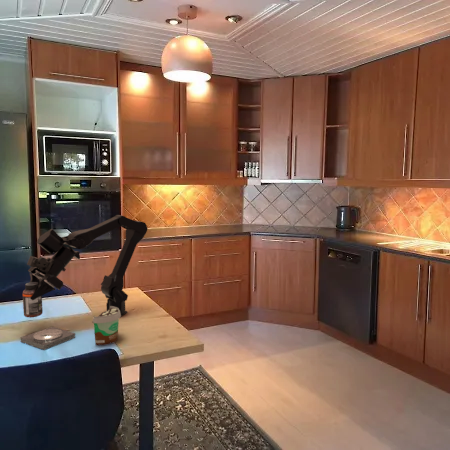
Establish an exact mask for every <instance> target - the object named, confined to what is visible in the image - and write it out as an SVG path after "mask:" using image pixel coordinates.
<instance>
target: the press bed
mask: <svg viewBox="0 0 450 450" xmlns="http://www.w3.org/2000/svg"><path fill="white" fill-rule="evenodd" d="M75 338H76V333H74V332H72V331H68V330H64V329H63V328H62V329H61V328H58V327H55V326H50V327H47V328H44V329H41V330H38V331H35V332H33V333H29V334H27V335H23V336H21V337H20V342H21V343H22V344H25V343H26V345H27V346H32V347H34V348H37V349H39V348H40V350H42V349H43V351H45V350H48V349H50V348H53V347H55V346H58V345H60V344H63V343H65V342H67V341H70V340H73V339H75Z"/></svg>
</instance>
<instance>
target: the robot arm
mask: <svg viewBox="0 0 450 450" xmlns="http://www.w3.org/2000/svg"><path fill="white" fill-rule="evenodd" d="M120 227H121V228H124V229H125V241H124V243H123V246H122V248H121V250H120V253H119V255H118V257H117V260H116V262H115V265H114V267H113V269H112V271H111V273H110V274H109V275H104V276H103V279H102V280H103V281H102V282H101V283H100V286H101V287H100V290H101V293H102V294H103V295H104V296H105V298H106V299H107V300H106V311H107V310H109V309H110V306H114V307H117V308H118V309H119V310H120V313H121V317H122V316H124V315H125V314H128V311H127V310H126V301H128V297H129V294H127V293H126V292H125V291H124V289H123V288H124V286H125V285H124V284H125V282H124V281H125V280H124V276H125V274H126V272H127V269H128V266H129V264H130V262H131V259H132V256H133V255H134V253H135V250H136V248H137V245H138V244H139V243H140V242H141V241H142V240H143V239H144V237H145V236H146V234H147V233H148V230H149V229H148V228H149V227H148V226H147V224H146V222H145V221H140V220H134V219H131V218H128V217H126V216H125V215H120V214H116V215H115V216H113V217H111V218H109V219H107V220H105V221H102V222H100V223H98V224H96V225H94V226H91V227H90V228H86V229H85V228H83V229H79V230H76V231H72V232H70V233H68V234H67V235H65V236H60V235H59V234H58V233H57V231H55V230H54V229H52V228H51V229H49V230H48V231H46V232H44V233H43V234H41V235H40V236H39V238H38V239H37V241H36V244H37V245H38V246H40V247H41V248H42V249H44V250H45V251H46V252H47V253H48V254H53V253H54V254H53V256H52V257H51V258H50V257H47V258H46V257H42V256H39V257H35V256H31V255H30V256H29V259H28V260H27V263H26V265H27V266H29V267H30V268H29V269H28V270H27V271H28V273H29V277H30V281H29V282H37V283H38V287H37V289H36V290H35V292H34V293H33V295H32V296H31V298H30V299H31V300H34V299H36V298H38V297H40V296H42V297H43V296H44V295H46V294H48V293H51V292H52V291H56V290H59V291H61V289H62V288H64V282H63V280H61V279H60V278H58V276H60V274H61V273H62V272H65V271H66V267H67V266H68V264H69V263H70V262H71V261H72V260H73V258H74V259H77V260H80V259H81V254H80V251H78V250H83V249H85V248H87V246H89V245H91V244H92V243H93V242H94V240H96V239H97V238H99V237H101V236H103V235H105V234H108V233H110V232H111V231H114V230H116V229H118V228H120ZM66 245H67V246H66ZM73 248H75V249H77V250H74V249H73Z"/></svg>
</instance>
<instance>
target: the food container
mask: <svg viewBox="0 0 450 450" xmlns="http://www.w3.org/2000/svg"><path fill="white" fill-rule="evenodd" d="M121 317H122V316H121V313H120V310H119V309H118V308H117V307H114V306H110V309H109V310H107V309H106V310H104V311H103V312H101V313H100V314H99V315H98V316H95V315H94V316H93V318H92V323H93V327H94V328H93V330H94V331H93V332H94V344H95V346H105V345H111V344H114V343H115V342H117V341H118V338H119V337H118V335H119V322H120V321H119V320H120V319H121Z"/></svg>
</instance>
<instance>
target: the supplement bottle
mask: <svg viewBox="0 0 450 450" xmlns="http://www.w3.org/2000/svg"><path fill="white" fill-rule="evenodd" d="M24 286H25V287H24V288H25V289H24V290H23V291H22V307H23V309H22V310H23V316H24V317H25V318H37V317H39V316H41V315H43V295H42V296H40V297H38V298H36V299H34V300H31V299H30V298H31V296H32V295H33V293H34V292H35V290H36V289H37V287H38V283H37V282H30V281H29V282H26V283H25V285H24Z"/></svg>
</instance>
